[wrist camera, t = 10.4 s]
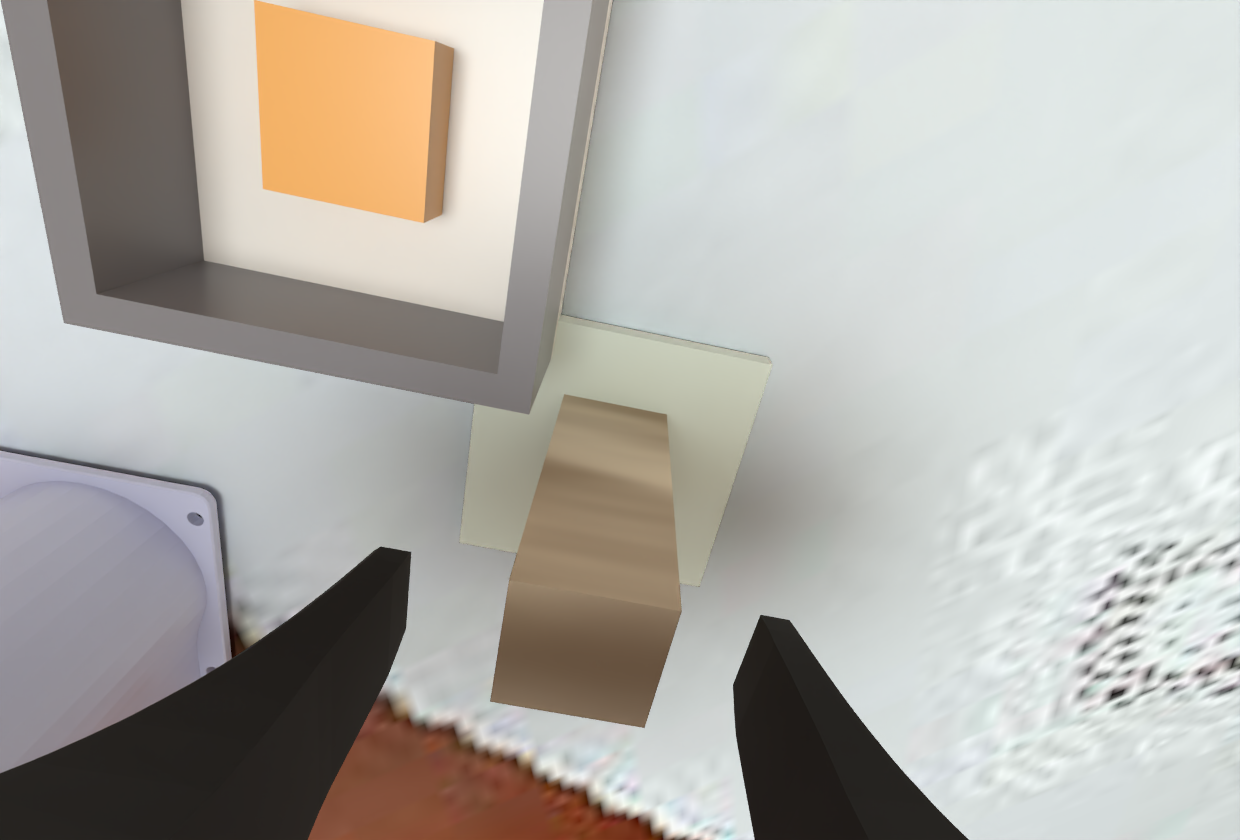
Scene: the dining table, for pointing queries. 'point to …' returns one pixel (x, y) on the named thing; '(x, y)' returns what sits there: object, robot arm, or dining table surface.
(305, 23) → the button
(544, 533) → the tan wooden block
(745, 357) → the sage tile
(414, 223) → the switch box
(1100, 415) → the dining table surface
